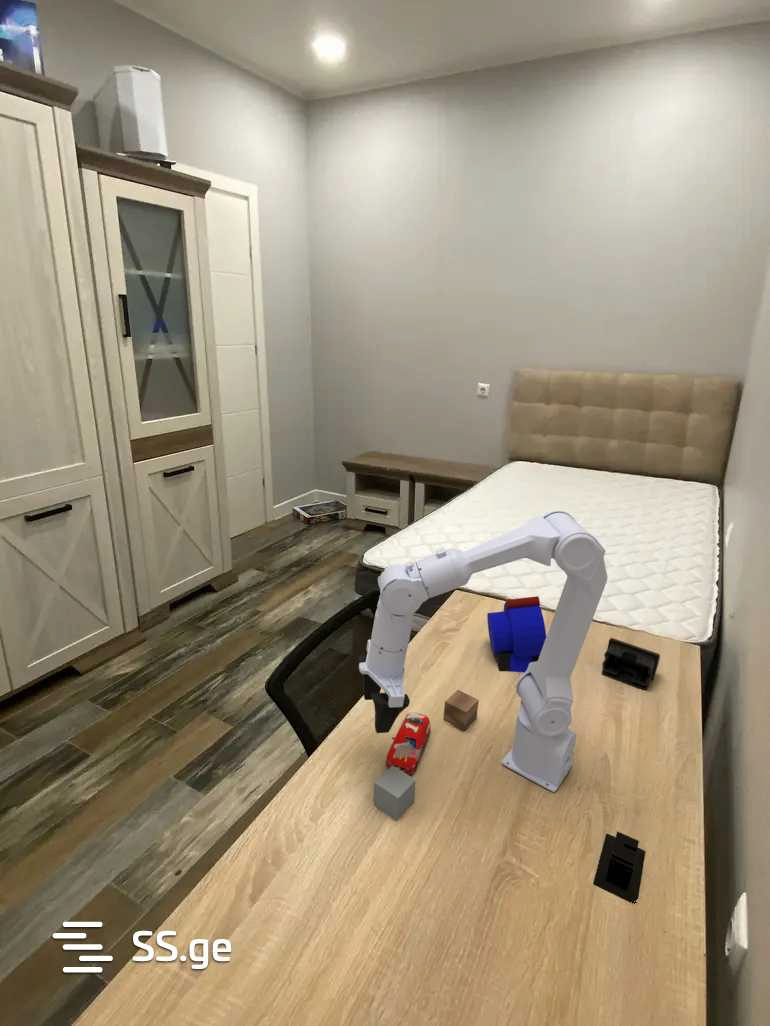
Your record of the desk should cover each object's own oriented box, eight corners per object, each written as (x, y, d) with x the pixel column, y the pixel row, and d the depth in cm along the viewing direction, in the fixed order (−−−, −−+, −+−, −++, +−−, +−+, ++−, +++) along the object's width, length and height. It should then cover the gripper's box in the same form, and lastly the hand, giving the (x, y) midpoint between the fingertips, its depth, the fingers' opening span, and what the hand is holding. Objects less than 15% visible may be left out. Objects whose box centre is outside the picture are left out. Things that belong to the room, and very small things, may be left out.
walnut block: (476, 719, 106) (478, 699, 104) (464, 732, 102) (466, 712, 101) (455, 709, 108) (457, 689, 107) (443, 721, 105) (444, 701, 103)
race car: (412, 782, 91) (414, 763, 90) (381, 772, 93) (382, 753, 92) (434, 729, 103) (436, 711, 102) (406, 721, 105) (407, 703, 103)
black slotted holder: (655, 676, 121) (662, 649, 119) (648, 692, 115) (654, 665, 113) (607, 659, 126) (613, 632, 124) (598, 674, 121) (604, 647, 119)
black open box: (640, 921, 72) (647, 896, 70) (582, 892, 75) (587, 867, 74) (652, 848, 82) (659, 824, 81) (600, 824, 86) (605, 801, 84)
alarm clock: (546, 673, 120) (557, 611, 115) (489, 671, 120) (496, 609, 115) (533, 641, 132) (542, 584, 127) (480, 639, 132) (487, 581, 127)
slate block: (414, 802, 87) (415, 779, 86) (396, 821, 84) (398, 798, 83) (391, 787, 90) (392, 765, 88) (373, 805, 87) (374, 782, 85)
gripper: (354, 616, 91) (342, 686, 95) (376, 671, 78) (362, 749, 82) (395, 616, 93) (382, 684, 98) (423, 670, 80) (407, 746, 85)
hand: (376, 714), depth 90 cm, fingers open, 7 cm apart
